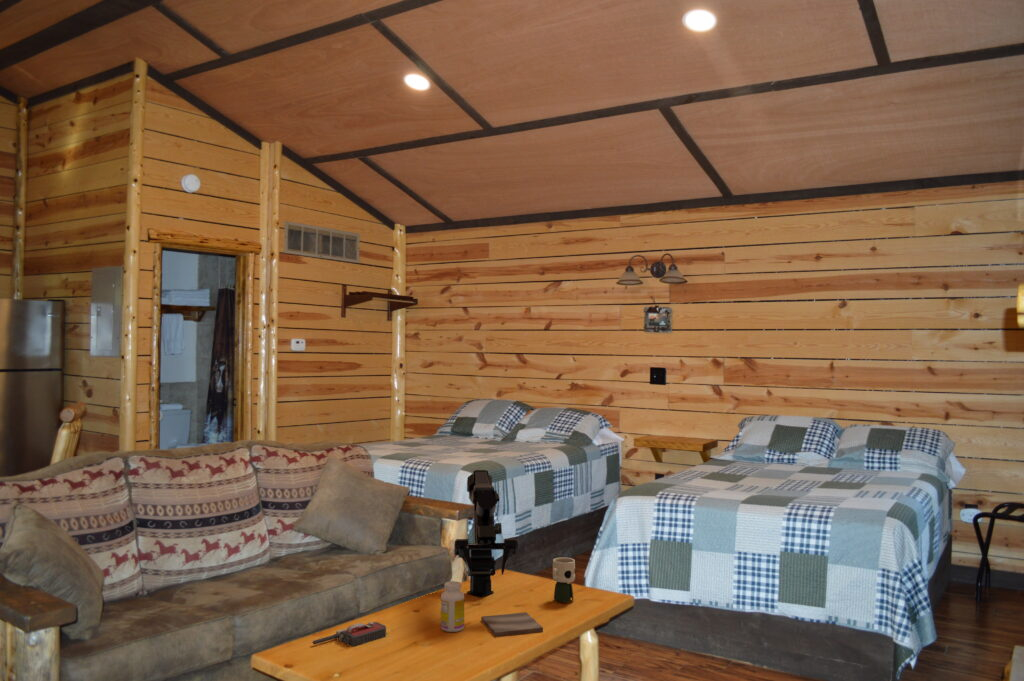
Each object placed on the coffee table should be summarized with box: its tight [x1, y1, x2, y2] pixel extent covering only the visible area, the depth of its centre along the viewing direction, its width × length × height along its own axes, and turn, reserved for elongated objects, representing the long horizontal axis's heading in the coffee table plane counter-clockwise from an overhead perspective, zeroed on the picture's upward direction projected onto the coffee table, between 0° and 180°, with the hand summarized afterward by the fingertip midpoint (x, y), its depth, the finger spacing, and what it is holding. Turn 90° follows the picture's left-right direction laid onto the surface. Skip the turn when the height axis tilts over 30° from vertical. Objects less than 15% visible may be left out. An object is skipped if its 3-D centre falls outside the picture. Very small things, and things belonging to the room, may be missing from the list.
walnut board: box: [480, 611, 544, 638], centre depth 229 cm, size 14×14×1 cm
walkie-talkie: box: [312, 621, 387, 647], centre depth 217 cm, size 9×4×20 cm
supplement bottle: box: [440, 580, 465, 633], centre depth 227 cm, size 7×7×13 cm
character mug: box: [552, 556, 576, 603], centre depth 254 cm, size 11×7×13 cm, turn 140°
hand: (486, 574), depth 232 cm, fingers open, 9 cm apart
